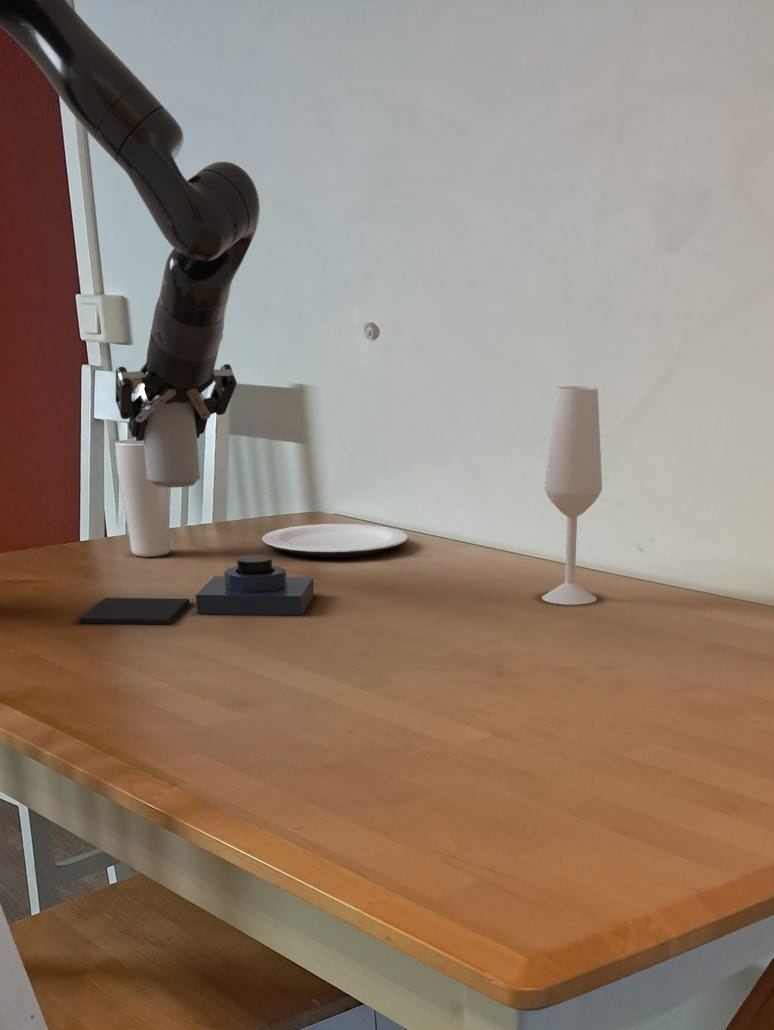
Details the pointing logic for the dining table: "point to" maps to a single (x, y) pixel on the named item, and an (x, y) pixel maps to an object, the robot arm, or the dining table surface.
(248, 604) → the button box
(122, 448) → the drinking glass
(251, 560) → the button
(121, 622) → the coaster
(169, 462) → the beverage can
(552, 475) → the champagne flute
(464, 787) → the dining table surface
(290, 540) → the plate
